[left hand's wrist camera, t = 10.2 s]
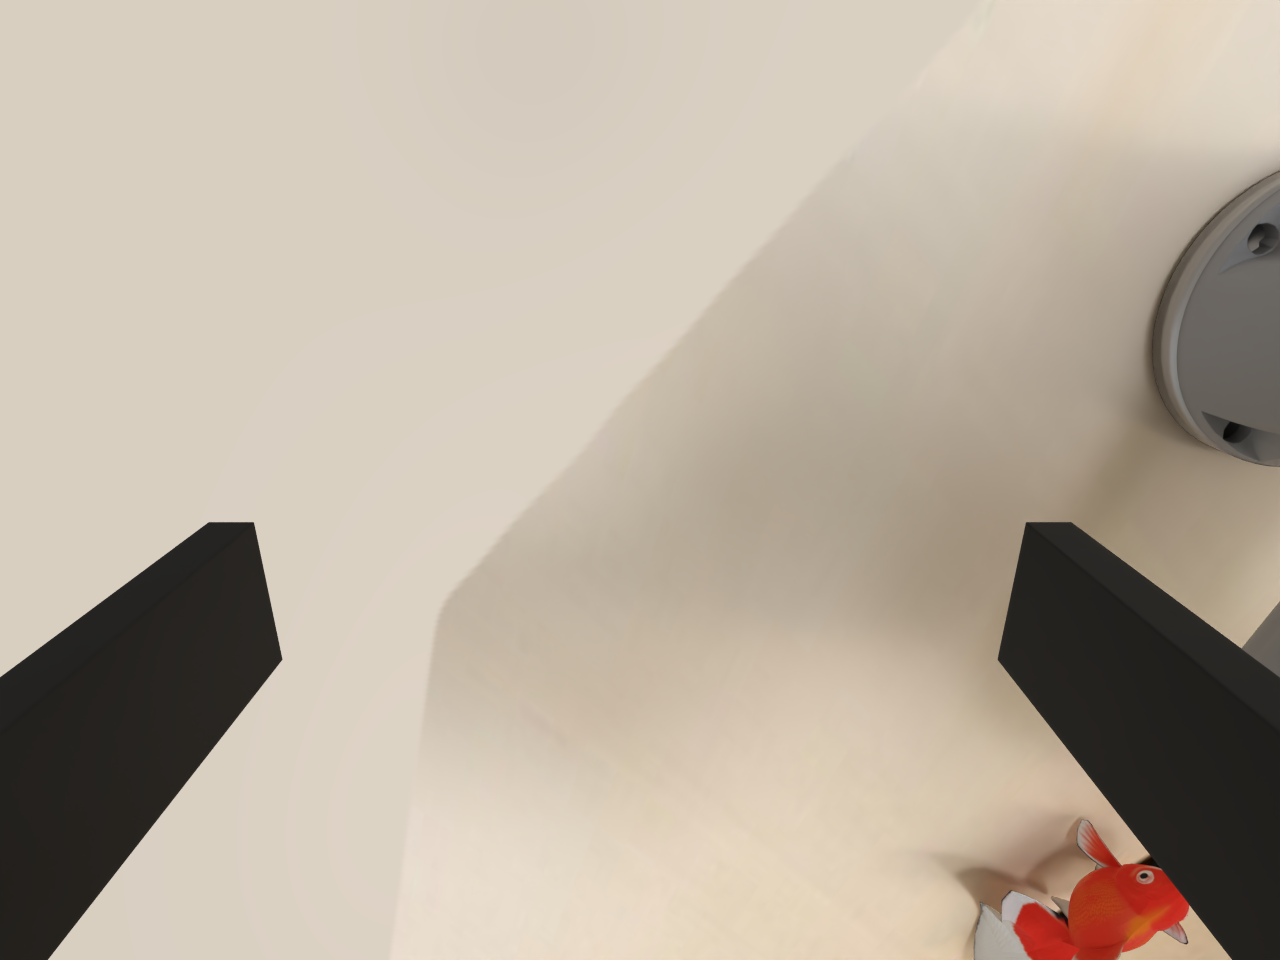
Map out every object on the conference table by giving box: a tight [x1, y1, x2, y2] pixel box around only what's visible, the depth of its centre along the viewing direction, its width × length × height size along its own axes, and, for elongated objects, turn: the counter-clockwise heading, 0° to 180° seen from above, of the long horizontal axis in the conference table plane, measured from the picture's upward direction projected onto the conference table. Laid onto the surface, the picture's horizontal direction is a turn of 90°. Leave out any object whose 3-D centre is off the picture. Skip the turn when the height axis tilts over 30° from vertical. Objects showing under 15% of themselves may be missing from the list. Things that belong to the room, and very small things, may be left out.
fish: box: [974, 820, 1189, 960], centre depth 48 cm, size 11×16×10 cm
